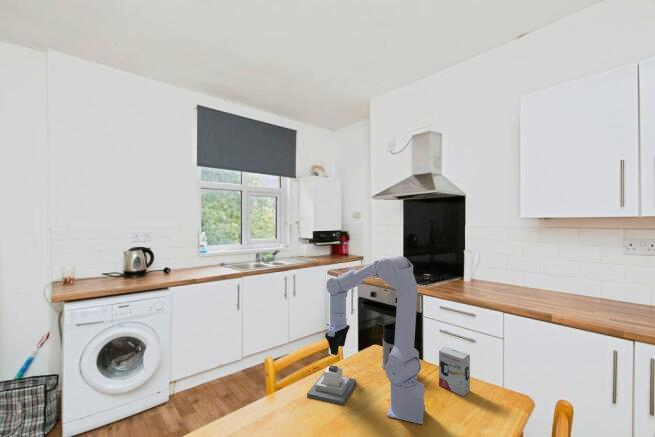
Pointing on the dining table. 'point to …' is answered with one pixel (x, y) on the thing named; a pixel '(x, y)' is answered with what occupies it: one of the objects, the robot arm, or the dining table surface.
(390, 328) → the glass holder
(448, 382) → the ink box
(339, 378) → the plug
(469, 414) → the dining table surface
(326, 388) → the socket dock
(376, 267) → the robot arm
